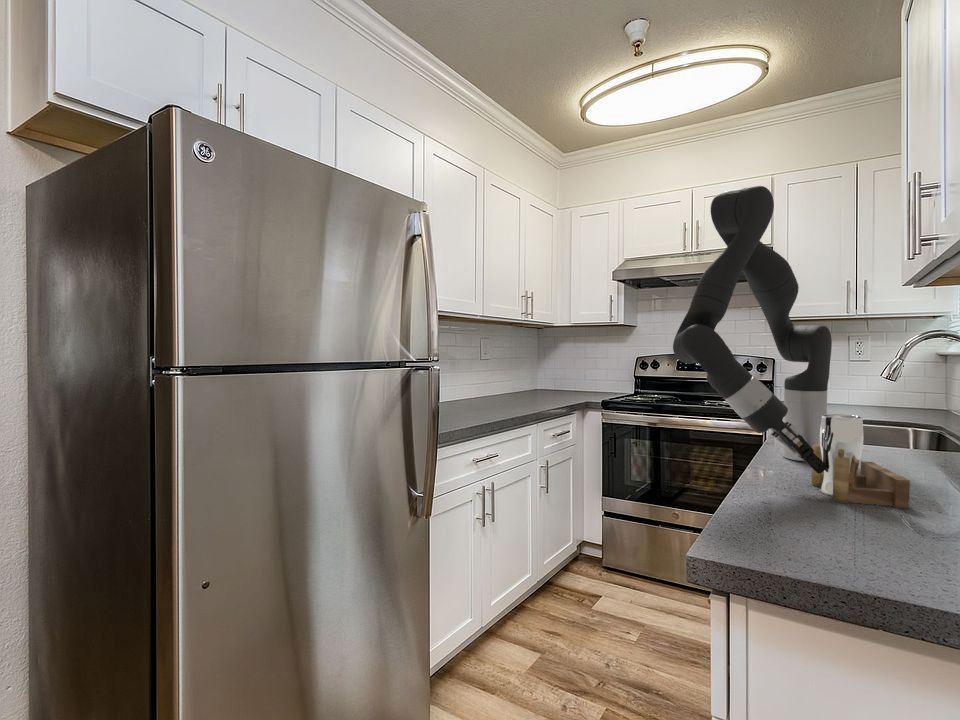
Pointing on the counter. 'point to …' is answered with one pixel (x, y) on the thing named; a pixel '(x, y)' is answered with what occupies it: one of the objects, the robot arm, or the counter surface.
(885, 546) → the counter surface
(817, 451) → the holder
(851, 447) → the silver metal cup
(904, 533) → the counter surface
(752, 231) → the robot arm
